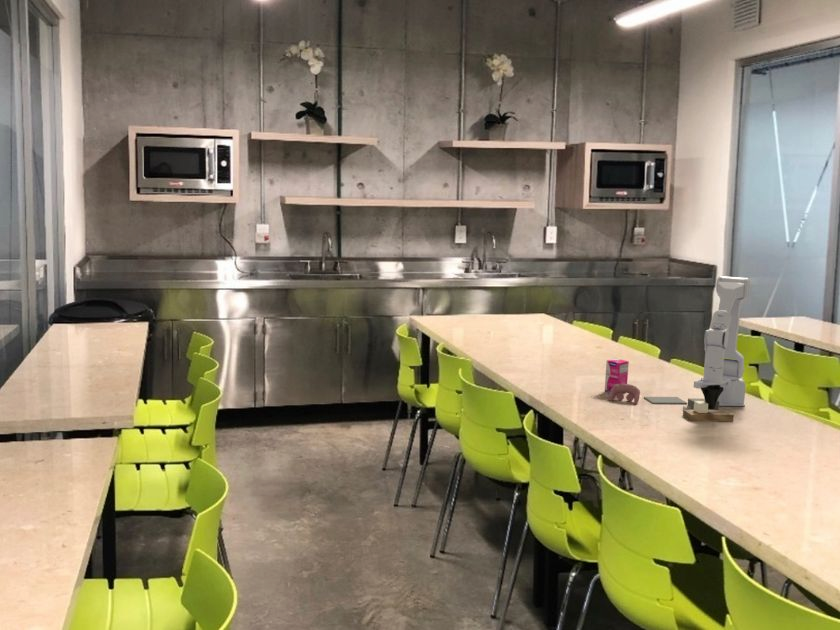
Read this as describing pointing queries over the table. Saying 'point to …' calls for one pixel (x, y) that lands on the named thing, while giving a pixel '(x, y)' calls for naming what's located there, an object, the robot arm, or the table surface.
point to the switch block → (708, 415)
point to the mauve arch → (625, 388)
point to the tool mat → (665, 400)
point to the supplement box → (616, 373)
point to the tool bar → (691, 400)
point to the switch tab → (700, 406)
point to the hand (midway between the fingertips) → (710, 408)
